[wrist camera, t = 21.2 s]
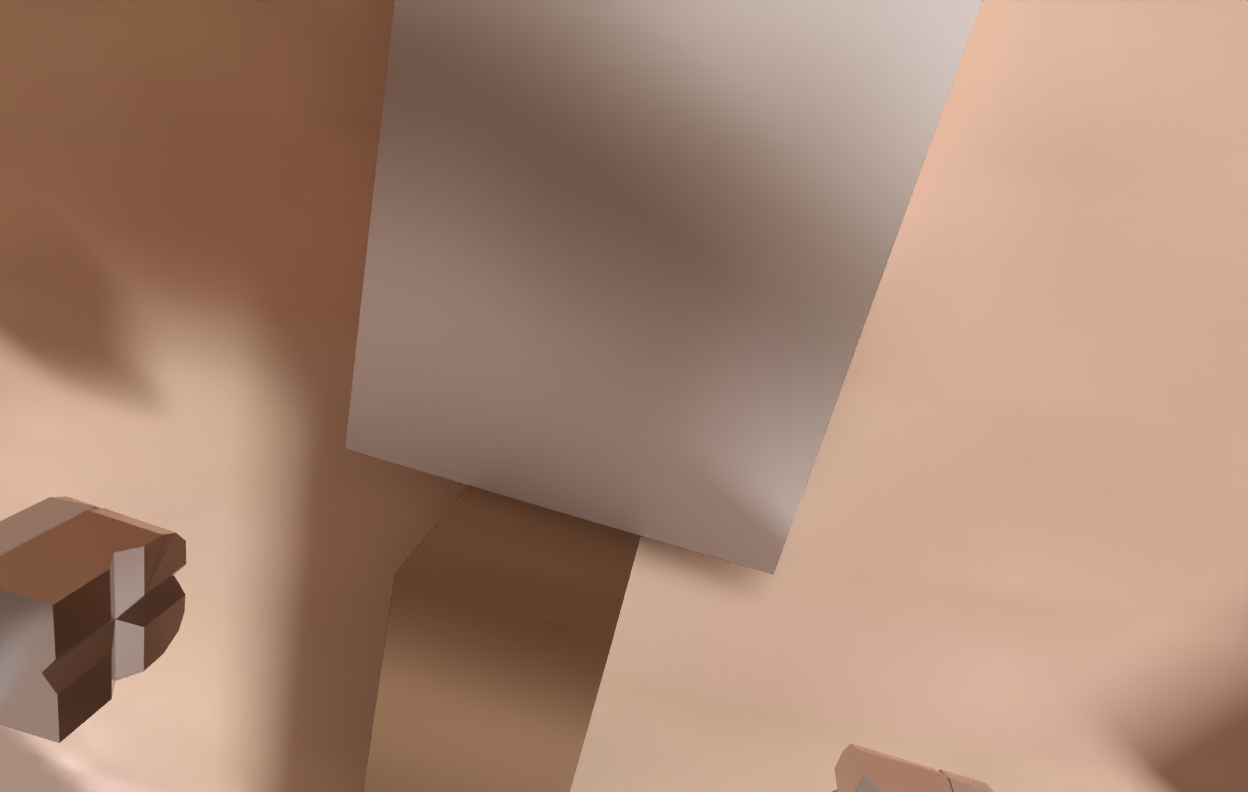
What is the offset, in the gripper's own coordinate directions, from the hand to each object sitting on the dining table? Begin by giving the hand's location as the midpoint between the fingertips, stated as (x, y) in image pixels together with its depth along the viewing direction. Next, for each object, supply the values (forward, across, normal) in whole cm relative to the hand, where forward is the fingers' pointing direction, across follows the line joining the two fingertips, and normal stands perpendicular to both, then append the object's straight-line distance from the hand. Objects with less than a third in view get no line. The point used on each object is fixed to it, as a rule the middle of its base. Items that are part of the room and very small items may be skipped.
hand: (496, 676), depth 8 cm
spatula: (+3, 0, 0) cm, 3 cm away
